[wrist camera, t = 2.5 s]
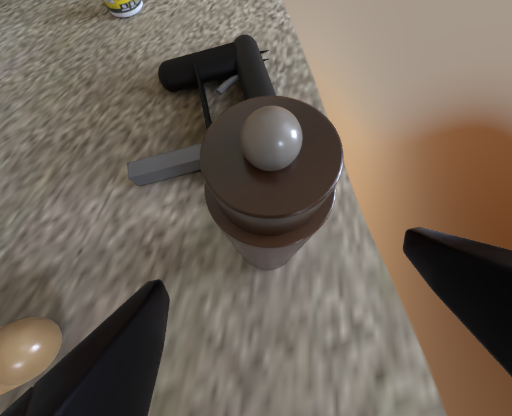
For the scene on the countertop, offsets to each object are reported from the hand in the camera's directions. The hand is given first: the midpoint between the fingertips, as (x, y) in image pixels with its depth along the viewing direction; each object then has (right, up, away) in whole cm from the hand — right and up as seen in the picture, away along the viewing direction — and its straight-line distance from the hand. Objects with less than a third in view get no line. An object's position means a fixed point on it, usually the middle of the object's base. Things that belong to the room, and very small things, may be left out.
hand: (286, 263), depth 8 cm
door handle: (-5, +10, +15) cm, 18 cm away
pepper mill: (0, -1, +10) cm, 10 cm away
